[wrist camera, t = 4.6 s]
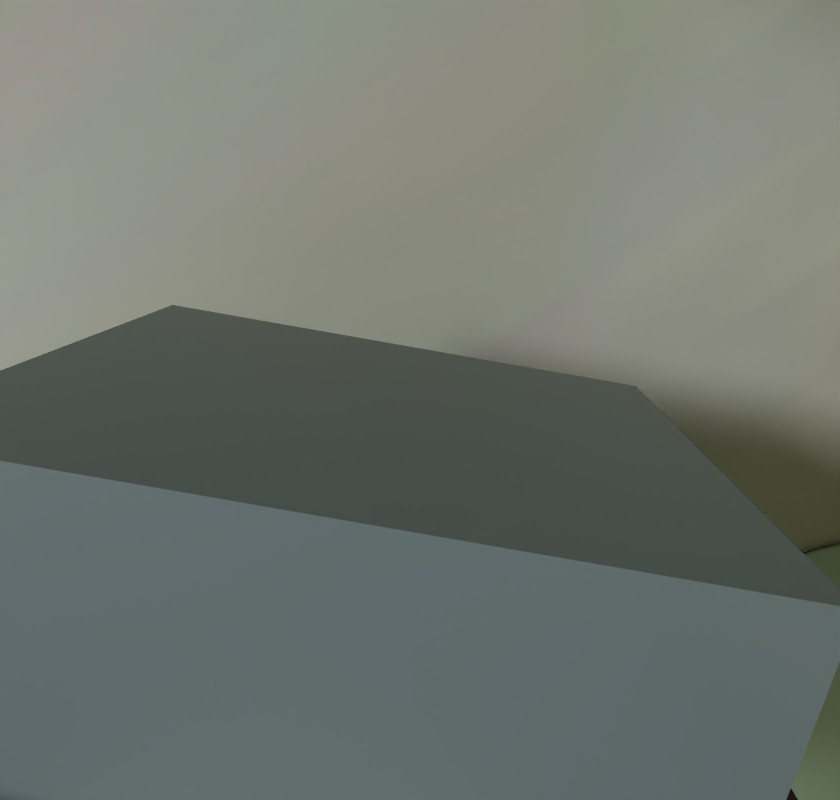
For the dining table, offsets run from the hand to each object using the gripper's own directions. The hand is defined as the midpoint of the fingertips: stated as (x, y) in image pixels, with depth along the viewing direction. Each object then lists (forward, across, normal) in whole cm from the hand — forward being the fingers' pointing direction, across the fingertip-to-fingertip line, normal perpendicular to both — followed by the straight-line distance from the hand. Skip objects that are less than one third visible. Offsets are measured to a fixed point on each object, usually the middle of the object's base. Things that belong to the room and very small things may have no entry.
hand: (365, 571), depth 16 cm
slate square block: (+1, 0, 0) cm, 1 cm away
